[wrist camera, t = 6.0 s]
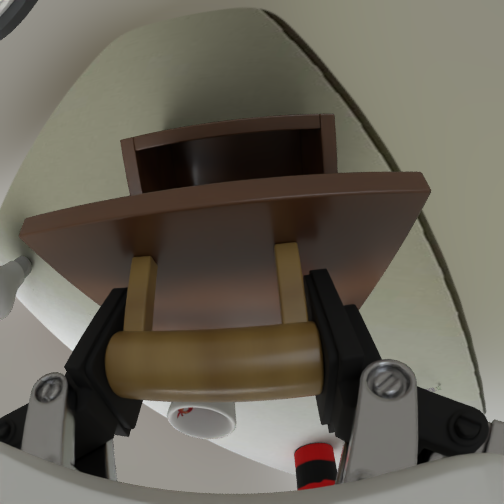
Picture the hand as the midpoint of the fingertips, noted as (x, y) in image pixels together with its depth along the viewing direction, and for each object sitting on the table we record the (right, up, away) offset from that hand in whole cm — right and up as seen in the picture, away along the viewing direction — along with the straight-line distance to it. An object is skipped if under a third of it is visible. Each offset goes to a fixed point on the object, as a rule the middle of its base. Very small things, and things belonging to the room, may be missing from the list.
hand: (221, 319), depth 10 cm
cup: (-4, -15, +27) cm, 31 cm away
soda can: (+13, -36, +37) cm, 54 cm away
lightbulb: (-27, +1, +20) cm, 34 cm away
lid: (0, 0, +5) cm, 5 cm away
